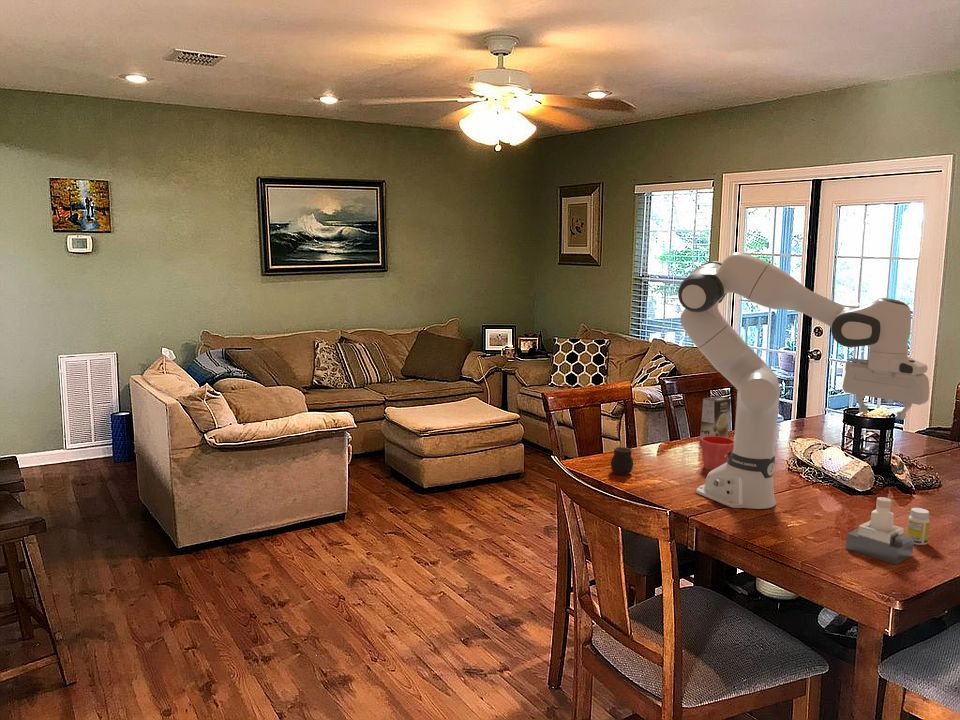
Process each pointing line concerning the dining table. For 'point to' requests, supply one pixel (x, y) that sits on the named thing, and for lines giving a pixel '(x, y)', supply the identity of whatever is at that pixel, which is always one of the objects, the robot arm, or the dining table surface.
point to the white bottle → (882, 515)
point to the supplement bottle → (918, 526)
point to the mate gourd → (622, 461)
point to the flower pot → (715, 451)
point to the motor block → (880, 543)
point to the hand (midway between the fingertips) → (881, 415)
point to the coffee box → (715, 417)
